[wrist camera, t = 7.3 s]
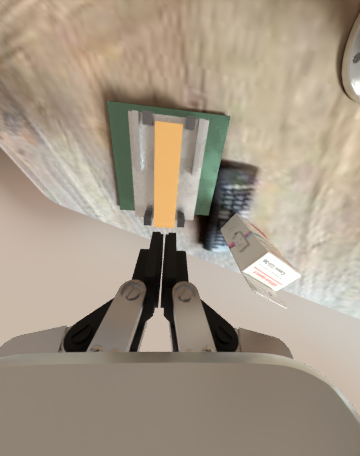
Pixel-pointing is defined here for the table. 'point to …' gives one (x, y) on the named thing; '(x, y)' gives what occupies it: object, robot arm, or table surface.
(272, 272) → the ink cartridge box
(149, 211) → the board
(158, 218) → the orange wooden bar
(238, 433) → the robot arm
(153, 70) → the table surface
